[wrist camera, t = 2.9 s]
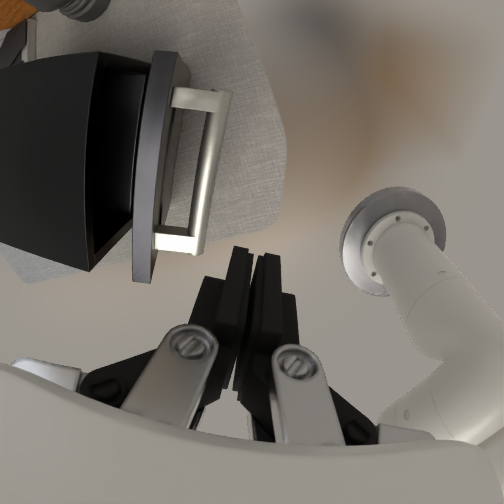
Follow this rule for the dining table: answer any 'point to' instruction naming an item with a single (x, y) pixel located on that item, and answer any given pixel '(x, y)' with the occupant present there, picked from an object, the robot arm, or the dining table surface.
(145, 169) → the oven door
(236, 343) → the robot arm
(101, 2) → the candle holder
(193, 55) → the dining table surface
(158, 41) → the dining table surface
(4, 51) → the picture frame
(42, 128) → the oven
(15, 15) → the bread
